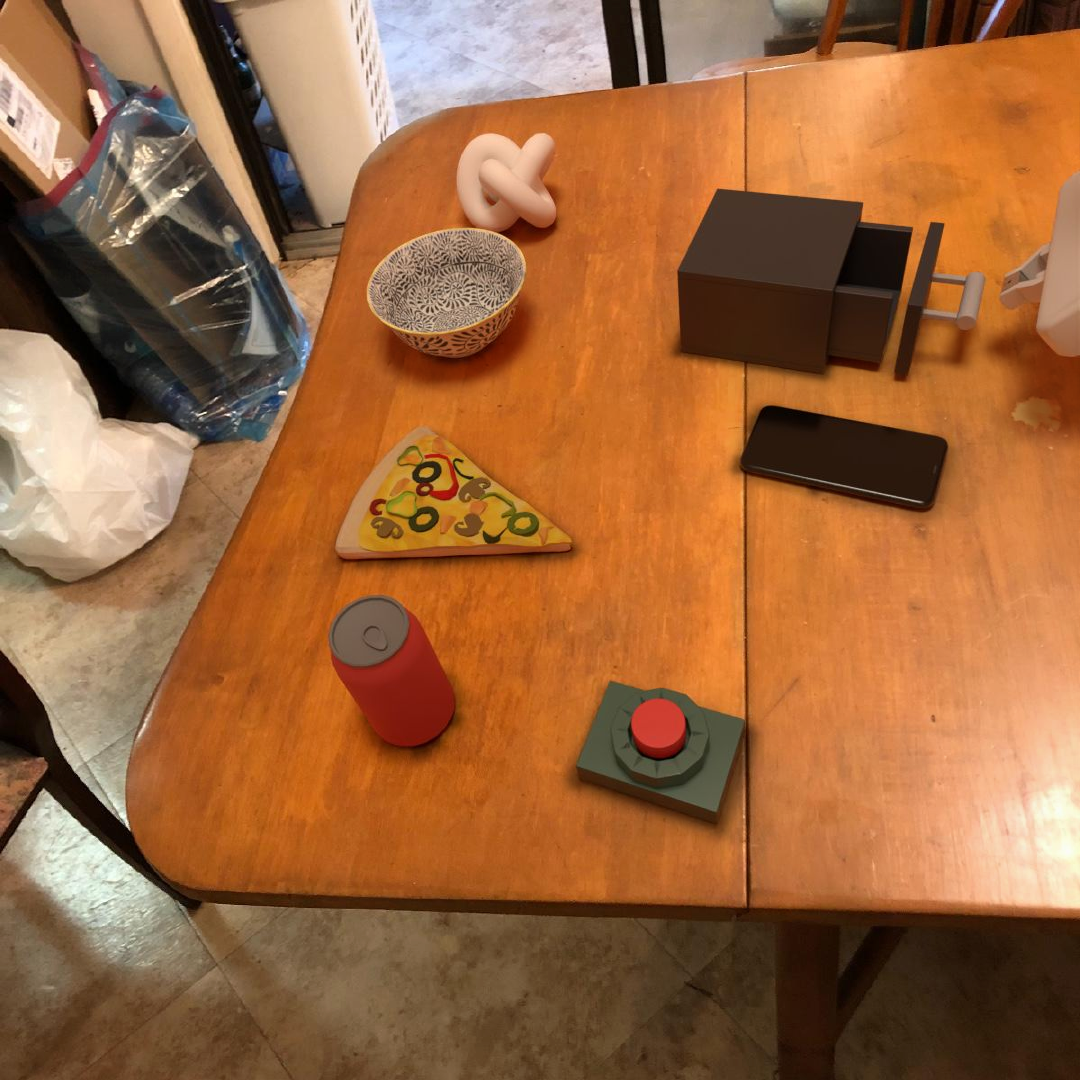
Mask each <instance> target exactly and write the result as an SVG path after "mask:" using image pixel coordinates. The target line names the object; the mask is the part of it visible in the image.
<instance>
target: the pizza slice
mask: <svg viewBox="0 0 1080 1080" xmlns="http://www.w3.org/2000/svg"><path fill="white" fill-rule="evenodd" d="M571 545H573V541H572V538H571V537H570V536H569V535H568V534H566V533H565V532H564V531H563V530H561V529H560V528H558V527H557V526H556V525H555V524H553V523H552V522H551V521H550V520H549V519H548V518H547V517H546V516H544V515H543V514H542V513H540V512H539V511H538V510H536V509H535V508H534V507H532V505H530V504H529V503H528V502H526V501H524V500H523V499H521V498H519V497H518V496H516V495H514V494H513V493H511V492H510V491H509V490H508V489H506V488H505V487H504V486H502V485H500V484H499V483H498V482H497V481H494V479H492V478H491V477H490V476H488V475H487V474H486V473H484V472H483V471H482V470H481V469H480V468H479V467H478V466H477V465H476V464H475V463H474V462H473V461H472V460H470V459H469V457H467V456H466V455H465V453H463V452H462V451H461V449H459V448H457V446H455V445H453V443H452V442H450V441H449V440H447V439H445V437H444V436H443V435H441V436H440V435H439V434H436V433H435V431H434V430H433V429H431V428H430V427H429V426H426V425H420V426H418V427H415V428H414V429H413V430H412V431H410V432H409V433H408V434H407V435H406V436H404V437H403V438H402V439H401V440H400V441H399V442H398V443H396V444H395V446H393V448H392V449H390V451H388V452H387V454H385V455H384V457H383V458H382V459H381V460H380V461H379V463H377V465H376V466H375V467H374V468H373V469H372V471H371V472H370V474H368V476H367V478H366V479H365V480H364V481H363V483H362V484H361V486H360V487H359V489H358V490H357V493H356V494H355V496H354V497H353V499H352V501H351V504H350V505H349V508H348V511H347V513H346V515H345V518H344V520H343V522H342V524H341V526H340V529H339V532H338V535H337V537H336V541H335V548H334V550H335V553H336V554H337V555H338V556H339V557H340V558H342V559H345V560H359V559H361V560H362V559H388V558H389V559H390V558H393V559H394V558H395V559H396V558H423V557H424V558H425V557H427V558H429V557H433V558H434V557H447V556H450V557H451V556H475V555H477V556H479V555H480V556H483V555H503V554H522V553H523V554H524V553H551V552H552V553H553V552H557V553H559V552H567V551H570V550H571V549H572V548H571Z"/></svg>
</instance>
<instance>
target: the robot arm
mask: <svg viewBox="0 0 1080 1080" xmlns="http://www.w3.org/2000/svg"><path fill="white" fill-rule="evenodd" d="M1056 202H1057V203H1056V208H1055V214H1054V221H1053V224H1052V225H1053V226H1052V233H1051V238H1050V241H1048V242H1047V243H1045V244H1043V245H1042V246H1040V247H1039V248H1038V249H1036V251H1034V252H1033V253H1032V254H1031V255H1030V256H1029V257H1028V258H1027V259H1026V260H1025V261H1024V262H1023V263H1022V264H1021V265H1020V266H1018V267H1016V268H1014V269H1013V270H1011V271H1009V272H1007V273H1005V274H1004V276H1003V279H1002V283H1001V284H1002V285H1001V290H1000V293H999V294H1000V295H999V302H1000V303H1001V304H1002V305H1003V306H1004V307H1005V308H1006V309H1007V310H1011V311H1013V310H1016V309H1018V308H1021V307H1022V306H1024V305H1027V304H1028V303H1029V304H1033V303H1035V304H1036V303H1039V307H1038V313H1037V319H1036V324H1035V330H1036V333H1037V334H1038V335H1039V336H1040V337H1041V339H1042V340H1043V341H1044V342H1045V343H1046V345H1047V346H1048V347H1049V348H1050V349H1051V350H1052V351H1053V352H1054V353H1055V354H1056V355H1058V356H1060V357H1061V356H1062V357H1070V358H1075V357H1079V356H1080V169H1078V170H1077V171H1075V172H1074V173H1073V174H1072V175H1070V176H1069V177H1068V178H1067V179H1066V180H1065V181H1064V182H1063V183H1062V184H1061V185H1060V186H1059V191H1058V197H1057V201H1056Z"/></svg>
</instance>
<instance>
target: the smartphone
mask: <svg viewBox="0 0 1080 1080" xmlns="http://www.w3.org/2000/svg"><path fill="white" fill-rule="evenodd" d="M948 452H949V443H948V441H947V440H946V439H945V438H944V437H942V436H940V435H936V434H930V433H925V432H920V431H914V430H909V429H903V428H898V427H893V426H887V425H882V424H877V423H871V422H865V421H860V420H855V419H850V418H845V417H839V416H835V415H828V414H823V413H817V412H812V411H807V410H802V409H797V408H791V407H785V406H780V405H775V404H774V405H772V404H770V405H769V404H768V405H765V406H763V407H762V408H761V409H760V410H759V412H758V413H757V416H756V418H755V421H754V424H753V426H752V428H751V430H750V433H749V436H748V438H747V440H746V443H745V445H744V448H743V449H742V452H741V455H740V458H739V465H740V467H741V468H742V469H743V470H744V471H746V472H749V473H753V474H756V475H762V476H766V477H771V478H775V479H781V480H784V481H788V482H789V481H790V482H794V483H798V484H804V485H808V486H812V487H817V488H822V489H827V490H831V491H835V492H841V493H845V494H850V495H855V496H859V497H864V498H868V499H874V500H877V501H882V502H888V503H892V504H896V505H901V506H906V507H909V508H910V507H911V508H914V509H915V508H916V509H927V508H930V507H931V506H933V504H934V503H935V501H936V498H937V494H938V491H939V487H940V483H941V480H942V476H943V472H944V468H945V464H946V460H947V455H948Z"/></svg>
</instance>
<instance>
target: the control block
mask: <svg viewBox="0 0 1080 1080" xmlns="http://www.w3.org/2000/svg"><path fill="white" fill-rule="evenodd" d="M651 699H665V700H668V701H671V702H673V703H674V704H676V705H677V706H678V707H679V708H680V709H681V711H682V712H683V714H684V717H685V723H686V740H685V743H684V745H683V746H682V748H681V749H680V750H679V751H678V752H677V753H676V754H674V755H672V756H670V757H667V758H652V757H649V756H647V755H645V754H644V753H642V752H641V751H640V750H639V749H638V748H637V746H636V744H635V742H634V739H633V733H632V728H631V719H632V716H633V713H634V712H635V710H636V709H637V708H638V707H639V706H640V705H641V704H642V703H644V702H646V701H648V700H651ZM587 734H588V735H587V737H586V739H585V741H584V744H583V747H582V749H581V752H580V754H579V757H578V760H577V761H576V764H575V768H576V772H577V774H578V778H579V779H581V780H584V781H587V782H589V783H591V784H595V785H599V786H600V787H604V788H607V789H610V790H613V791H616V792H620V793H622V794H626V795H628V796H631V797H635V798H638V799H640V800H643V801H646V802H649V803H653V804H655V805H658V806H662V807H664V808H667V809H671V810H672V811H673V810H674V811H676V812H679V813H682V814H685V815H688V816H691V817H694V818H697V819H700V820H703V821H706V822H709V823H713V824H716V825H717V824H718V822H719V819H720V817H721V816H720V815H721V812H722V810H723V805H724V804H725V803H724V802H725V800H726V796H727V793H728V790H729V786H730V783H731V779H732V776H733V774H734V770H735V767H736V764H737V760H738V757H739V754H740V750H741V747H742V744H743V741H744V738H745V734H746V719H744V718H741V717H737V716H734V715H731V714H726V713H725V712H720V711H716V710H713V709H710V708H706V707H703V706H699V705H698V704H697V703H696V702H695V701H694V700H693V699H692V698H691V697H690V696H688V695H687V693H683V692H679V691H675V690H672V689H670V688H665V687H657V688H652V689H646V690H645V689H641V688H637V687H635V686H631V685H627V684H624V683H620V682H617V681H614V680H609V682H608V685H607V687H606V690H605V692H604V695H603V697H602V700H601V702H600V705H599V707H598V709H597V712H596V714H595V717H594V719H593V722H592V724H591V727H590V729H589V731H588V733H587Z"/></svg>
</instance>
